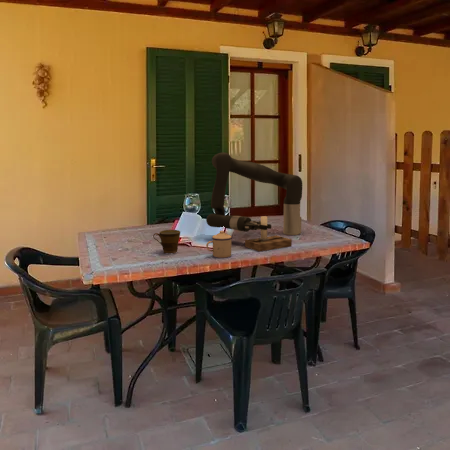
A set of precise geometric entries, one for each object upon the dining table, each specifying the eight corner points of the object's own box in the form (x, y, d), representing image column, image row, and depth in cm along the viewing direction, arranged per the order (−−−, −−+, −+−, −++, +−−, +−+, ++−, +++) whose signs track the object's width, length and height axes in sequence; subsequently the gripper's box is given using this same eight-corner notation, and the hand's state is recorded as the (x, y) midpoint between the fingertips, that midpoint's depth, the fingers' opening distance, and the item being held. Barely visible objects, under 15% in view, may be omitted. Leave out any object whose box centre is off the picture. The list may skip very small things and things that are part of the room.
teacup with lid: (228, 252, 221) (228, 228, 219) (234, 257, 212) (234, 232, 210) (204, 254, 217) (203, 230, 215) (209, 259, 209) (208, 234, 207)
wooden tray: (276, 241, 242) (276, 235, 241) (291, 246, 232) (291, 239, 231) (245, 246, 232) (245, 239, 231) (259, 251, 222) (259, 244, 221)
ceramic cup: (181, 249, 228) (180, 229, 226) (180, 254, 218) (179, 233, 216) (155, 249, 227) (154, 229, 226) (152, 255, 218) (151, 234, 216)
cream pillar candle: (264, 243, 233) (264, 215, 230) (269, 244, 230) (269, 217, 227) (258, 244, 231) (258, 216, 228) (263, 245, 228) (263, 217, 225)
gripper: (232, 218, 231) (261, 221, 221) (248, 214, 242) (276, 217, 232) (232, 233, 232) (260, 237, 222) (248, 228, 243) (276, 232, 233)
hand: (268, 227), depth 227 cm, fingers closed on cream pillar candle, 3 cm apart
